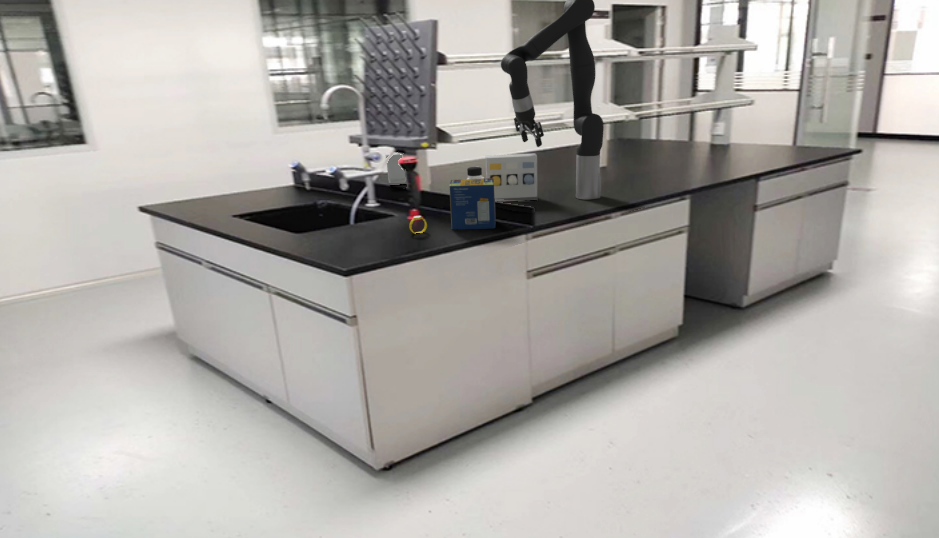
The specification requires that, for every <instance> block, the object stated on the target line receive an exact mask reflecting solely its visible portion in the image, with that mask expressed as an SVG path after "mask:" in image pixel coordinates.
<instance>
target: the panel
mask: <svg viewBox="0 0 939 538" xmlns="http://www.w3.org/2000/svg"><path fill="white" fill-rule="evenodd" d="M511 174H513V175H515V176H516V178H517V184H516V185H514V186H512V185H510V184H509V183H508V180H507V178H508V176H509V175H511ZM525 174H531V175H532V177H533V178H534V182H533V183H532V184H531V185H527V184H526V183H525V181H524V175H525ZM494 175H497V176H499V177H500V180H501V183H500V185H499V186H494V193H495V199H504V200H537V201H538V155H537V153H536V152H534V153H517V154H516V153H515V154H514V153H512V154H511V153H510V154H493V155H492V154H491V155H485V176H486V177H485V179H488V178H492V176H494Z"/></svg>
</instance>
